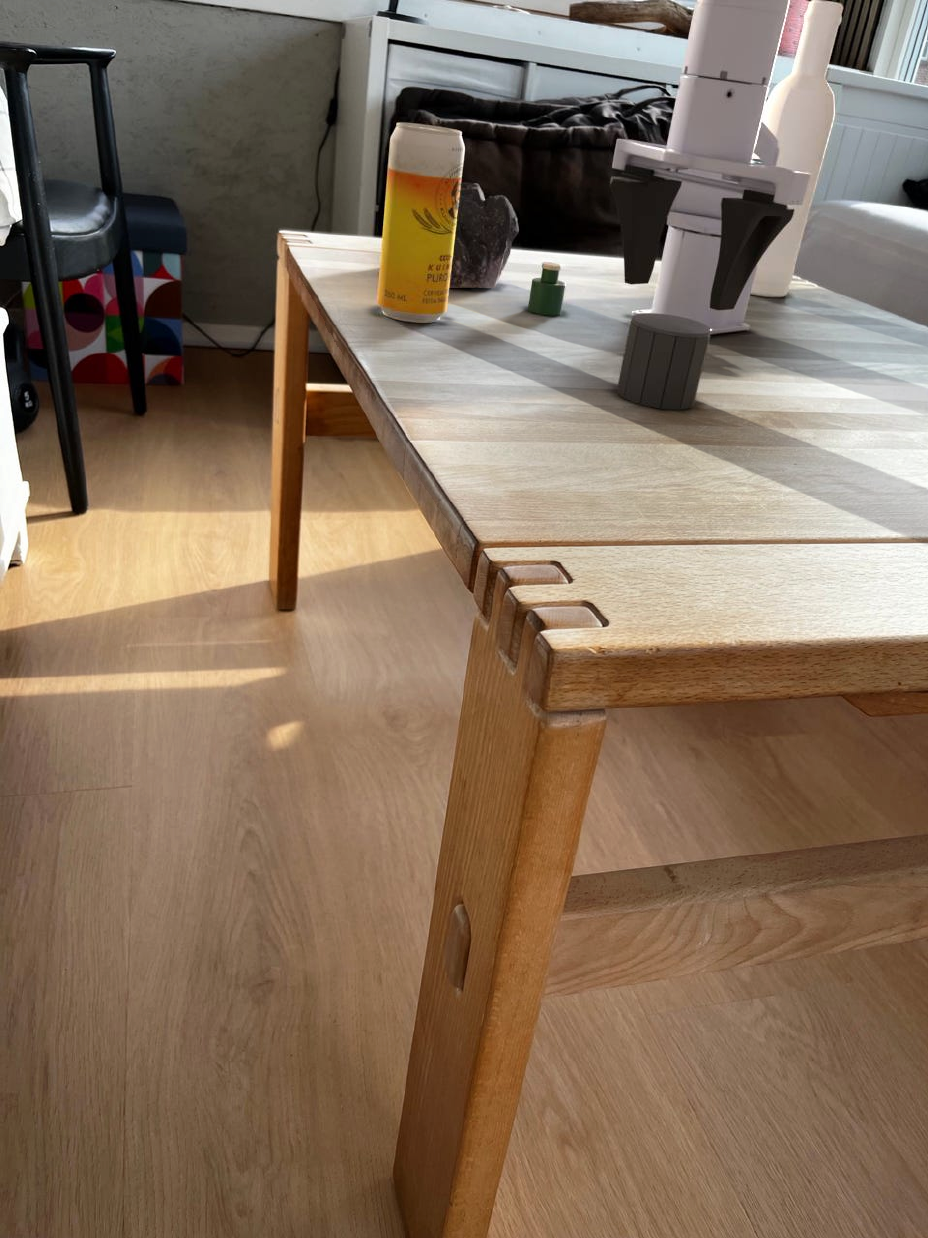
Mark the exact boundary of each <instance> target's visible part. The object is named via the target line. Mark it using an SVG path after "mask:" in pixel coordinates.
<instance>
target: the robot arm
mask: <svg viewBox="0 0 928 1238" xmlns="http://www.w3.org/2000/svg"><path fill="white" fill-rule="evenodd" d="M790 1H791V0H696V2H695V4H694V8H693V12H692V17H691V23H690V27H689V31H688V32H689V33H688V38H687V42H686V48H685V52H684V57H683V62H682V67H681V74H680V76H679V81H678V87H677V92H676V97H675V102H674V107H673V112H672V116H671V121H670V122H671V123H670V127H669V132H668V137H667V141H666V145H664V144H658V143H652V142H646V141H640V140H634V139H625V138H617V139H616V143H615V148H614V154H613V158H612V166H611V168H612V169H615V170H619V171H623V172H622V173H621V176H611V177H610V182H609V189H610V192H611V194H612V197H613V200H614V203H615V207H616V211H617V216H618V219H619V224H620V230H621V239H622V251H623V272H624V274H623V275H624V283H625V284H628V285H644V284H645V285H647V284H648V285H649V283H650V280H651V278H652V274H653V271H654V268H655V264H656V259H657V255H658V250H659V245H660V241H661V238H662V237H661V236H662V233H663V230H664V227H665V224H666V225H667V226H668V228H667V233H666V237H665V242H664V247H663V250H662V251H663V252H662V255H661V256H662V257H661V260H660V261H661V262H660V266H659V271H658V276H657V280H656V285H655V291H654V295H653V300H652V304H651V308H649V309H640V310H639V309H638V310H632V311H631V317H633V315H635V314H640V313H657V314H666V315H673V316H678V317H683V318H687V319H691V320H694V321H697V322H700V323H703V324H705V325H707V326H708V327H710V329H711V335H717V334H726V333H733V332H742V331H749V330H750V329H751V325H750V324H749V323H745V318H746V313H747V309H748V305H749V301H750V298H751V297H750V296H751V294H750V293H751V289H752V285H753V281H754V277H755V273H756V270H757V264H758V262H759V260H760V258H761V257H762V255H763V254H764V253H765V251H766V250H767V248H768V247H769V246H770V244H771V243H772V242H773V240H774V239H775V238H776V237H777V235H778V234H779V233H780V232H781V231H782V229H783V228H784V227H785V226H786V225H787V224H788V223H789V222H790V221H791V219H792V217H793V214H794V209H793V208H790V207H787V205H802V204H803V200H804V196H805V192H806V189H807V185H808V181H809V177H810V173H806V172H801V171H796V170H791V169H786V168H782V167H777V166H776V163H777V159H778V155H779V151H780V149H779V147H778V140H777V139H776V137H775V136H774V135H773V133H772V132H771V131H770V130H769V129H768V128H767V126H766V125H765V124H764V123H763V122H762V120H761V119H762V115H763V111H764V106H765V104H766V102H767V99H768V94H769V90H770V87H769V86H770V84H771V80H772V76H773V72H774V68H775V63H776V59H777V55H778V51H779V47H780V43H781V38H782V34H783V31H784V26H785V22H786V17H787V14H788V10H789V7H790V6H789V5H790ZM753 154H756V155H757V156H758V157H759V158H760V159H756V158H752V157H753Z"/></svg>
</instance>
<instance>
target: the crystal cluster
mask: <svg viewBox="0 0 928 1238" xmlns="http://www.w3.org/2000/svg"><path fill="white" fill-rule="evenodd" d="M519 230H520V229H519V223H518V217H517V215H516V212H515V210H514V207H513V206H512V204H511V202H510V201H509V199H508V198H507V197H506V196H505V195H500V194H497V195H494V196H492V195H490V196H489V197H487V198H486V199H485V195H484V191H483V190H482V189H481V187H480V184H479V183H476V182H475V183H471V182H461V188H460V196H459V205H458V214H457V223H456V232H455V240H454V249H453V258H452V267H451V276H450V285H449V289H450V288H451V289H467V288H469V289H476V288H478V289H483V288H484V289H495V288H496V285H497V284H498V282H499V280H500V278H501V275H502V271H503V270H504V269H505V267H506V264H507V263H508V260H509V258H510V256H511V252H512V243H513V241H514V239H515V238H516V237H517V236H518V233H519Z"/></svg>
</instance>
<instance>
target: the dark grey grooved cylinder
mask: <svg viewBox="0 0 928 1238" xmlns="http://www.w3.org/2000/svg"><path fill="white" fill-rule="evenodd" d="M711 335H712V334H711V329H710V327H708V326H707V325H705V324H703V323H700V322H697V321H694V320H691V319H687V318H683V317H678V316H673V315H666V314H657V313H640V314H635V315H633V316H631V321H630V323H629V327H628V333H627V337H626V342H625V348H624V352H623V357H622V362H621V368H620V373H619V378H618V383H617V388H616V393H617V394H618V395H619V396H620V397H621V398H623V399H624V400H627V401H629V402H632V403H635V404H637V405H640V406H645V407H650V408H654V409H658V410H659V409H661V410H671V411H672V410H675V411H681V410H686V409H691V408H693V406H694V405H695V402H696V397H697V393H698V390H699V389H698V388H699V385H700V380H701V376H702V372H703V368H704V364H705V359H706V355H707V352H708V347H709V343H710V340H711Z"/></svg>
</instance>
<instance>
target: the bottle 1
mask: <svg viewBox="0 0 928 1238" xmlns="http://www.w3.org/2000/svg"><path fill="white" fill-rule="evenodd" d="M541 268H542V269H541V276H540V277H534V278H532V280H531V285H530V292H529V299H528V304H527V310H528V311H529V312H531V313H532V314H533V313H534V314H536V315H541V316H547V317H548V316H551V317H557V316H561V314H562V310H563V304H564V297H565V291H566V286H567V285H566V283H565V282H563V281H561V280H559V276H560V271H561V270H562V265H561V264H560V263H556V262H550V261H543V262H542V263H541Z"/></svg>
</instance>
